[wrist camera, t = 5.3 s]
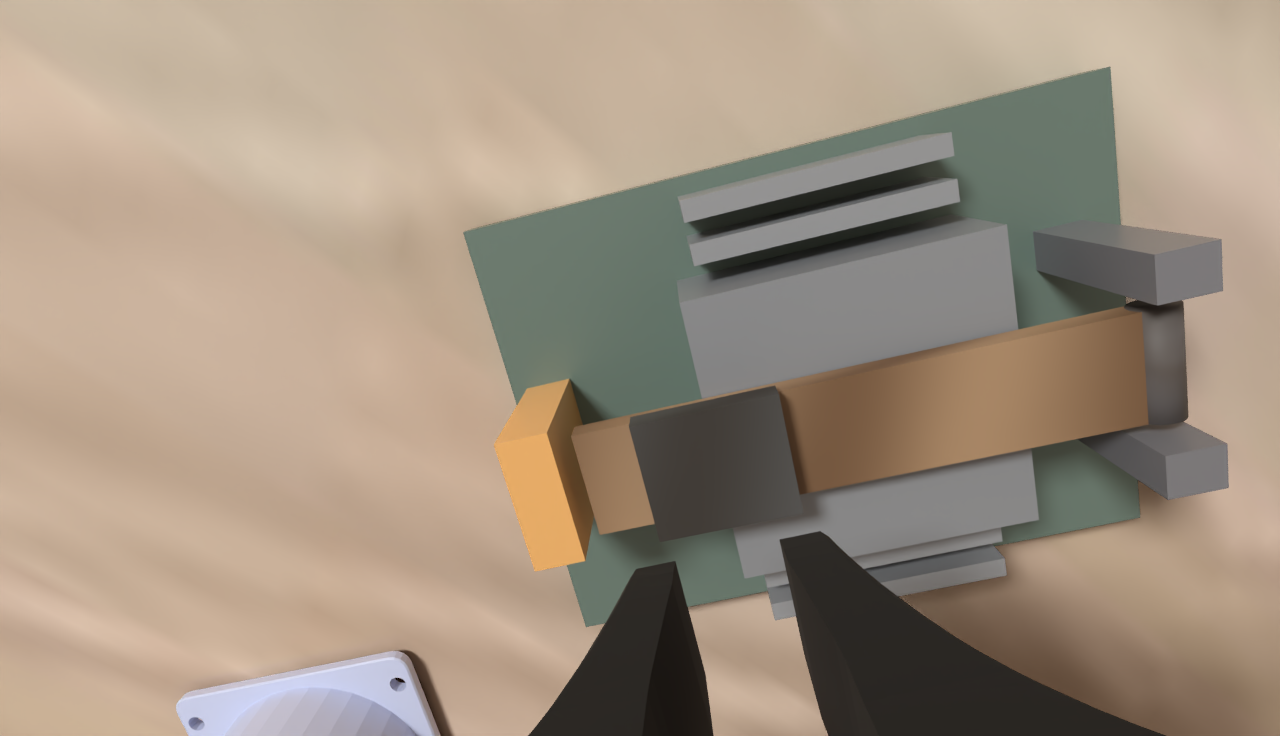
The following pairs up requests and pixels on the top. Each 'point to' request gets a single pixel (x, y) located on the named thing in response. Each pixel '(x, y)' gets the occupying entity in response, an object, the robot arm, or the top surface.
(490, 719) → the top surface
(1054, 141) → the clamp board
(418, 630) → the top surface
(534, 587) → the top surface
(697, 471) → the clamp bar
